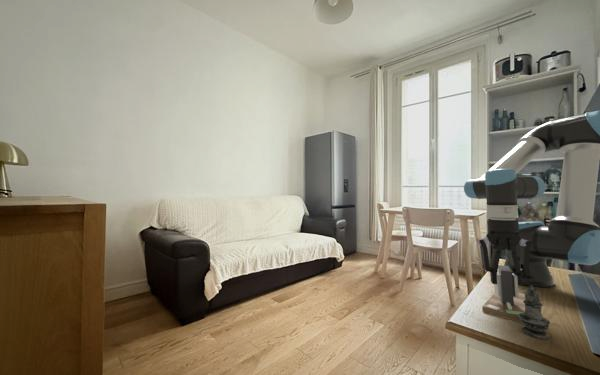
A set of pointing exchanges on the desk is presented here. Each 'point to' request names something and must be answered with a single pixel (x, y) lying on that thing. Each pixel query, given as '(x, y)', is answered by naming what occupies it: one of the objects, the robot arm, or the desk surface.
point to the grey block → (506, 286)
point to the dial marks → (506, 310)
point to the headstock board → (505, 306)
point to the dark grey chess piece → (533, 315)
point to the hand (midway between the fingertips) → (506, 295)
